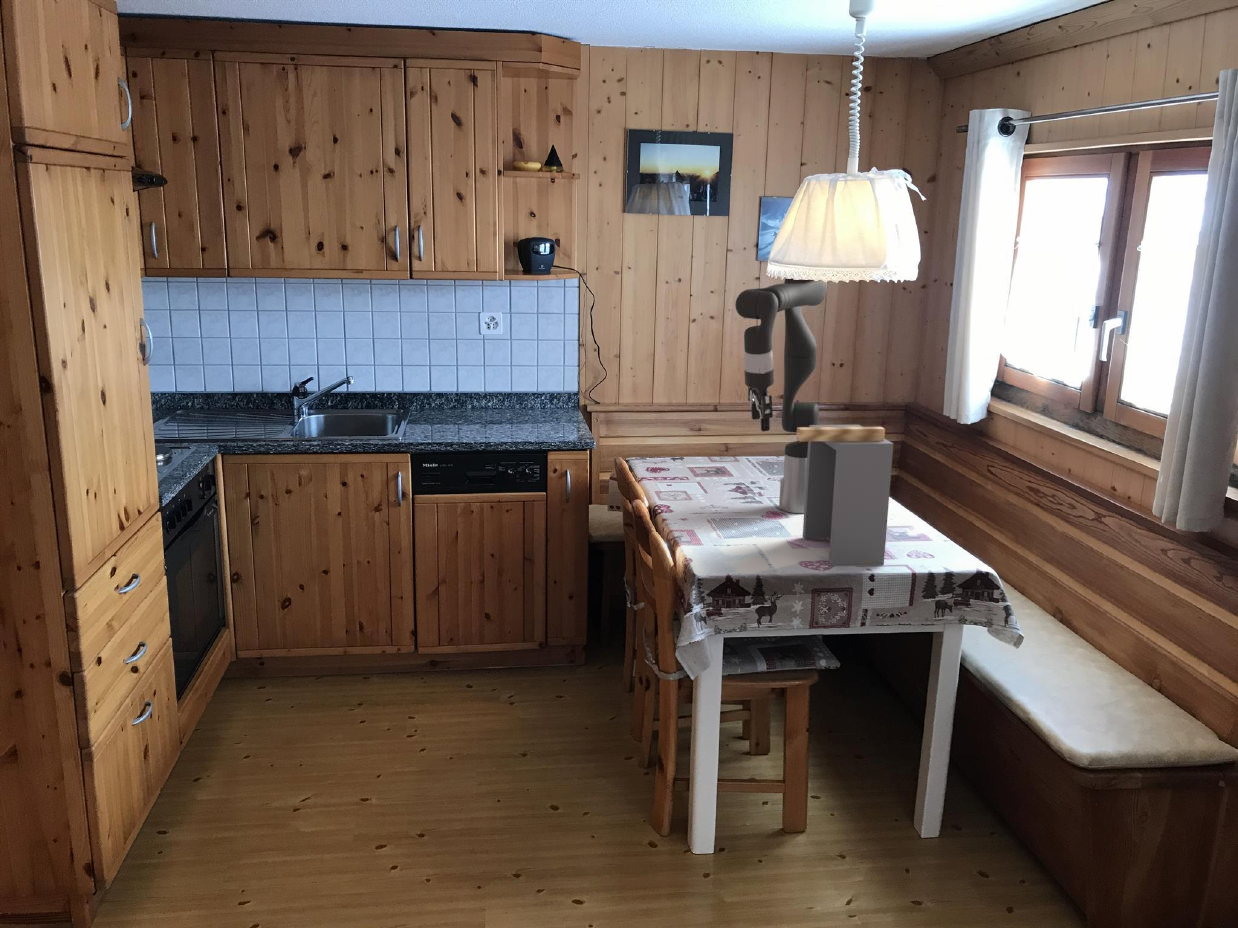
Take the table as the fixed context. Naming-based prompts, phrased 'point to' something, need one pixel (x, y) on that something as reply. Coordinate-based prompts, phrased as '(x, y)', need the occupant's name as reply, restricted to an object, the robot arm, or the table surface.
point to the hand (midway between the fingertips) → (760, 424)
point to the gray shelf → (848, 498)
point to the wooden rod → (840, 434)
